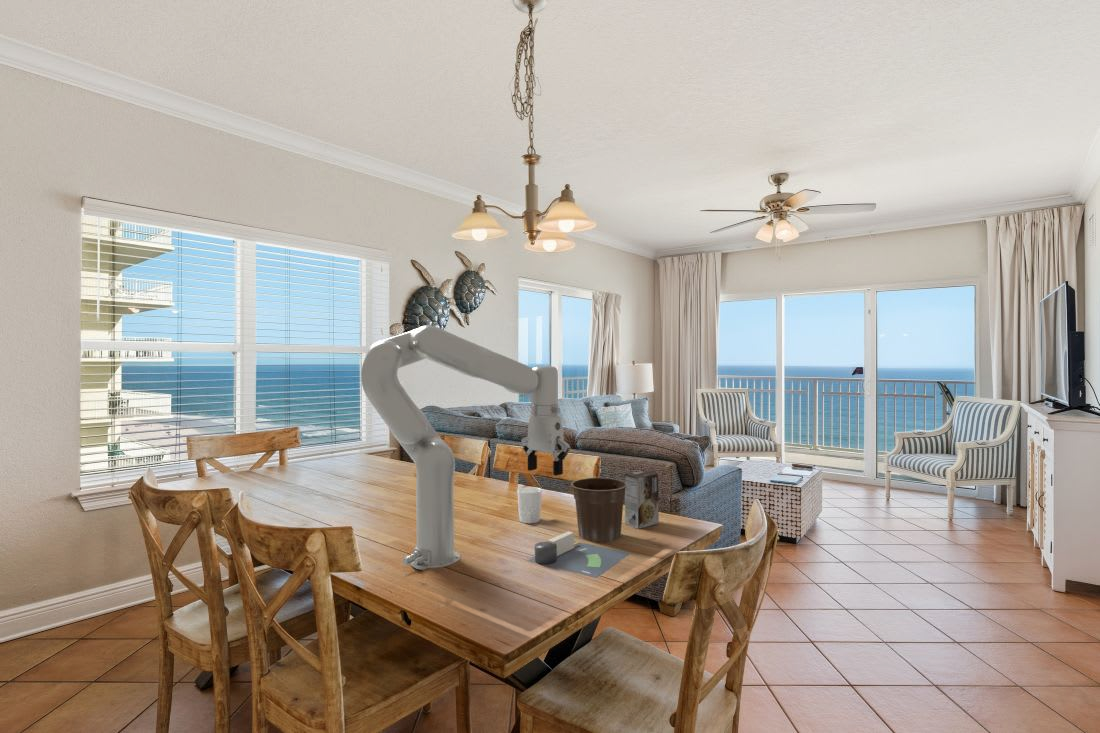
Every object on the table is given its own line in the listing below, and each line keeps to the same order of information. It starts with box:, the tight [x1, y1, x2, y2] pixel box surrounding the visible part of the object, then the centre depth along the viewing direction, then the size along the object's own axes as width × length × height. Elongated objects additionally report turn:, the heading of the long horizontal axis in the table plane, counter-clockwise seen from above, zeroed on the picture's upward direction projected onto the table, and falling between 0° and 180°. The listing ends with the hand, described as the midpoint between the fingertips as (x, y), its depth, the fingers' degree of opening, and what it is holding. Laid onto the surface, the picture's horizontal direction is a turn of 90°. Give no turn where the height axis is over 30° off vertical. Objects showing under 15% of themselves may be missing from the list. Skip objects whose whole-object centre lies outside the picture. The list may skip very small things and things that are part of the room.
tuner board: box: [527, 540, 631, 579], centre depth 142 cm, size 19×20×1 cm
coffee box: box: [624, 469, 660, 530], centre depth 172 cm, size 9×6×16 cm
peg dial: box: [534, 530, 580, 564], centre depth 144 cm, size 17×6×4 cm, turn 142°
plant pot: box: [570, 477, 627, 543], centre depth 159 cm, size 16×16×16 cm
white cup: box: [517, 486, 543, 524], centre depth 176 cm, size 8×8×10 cm
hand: (544, 472), depth 151 cm, fingers open, 9 cm apart
